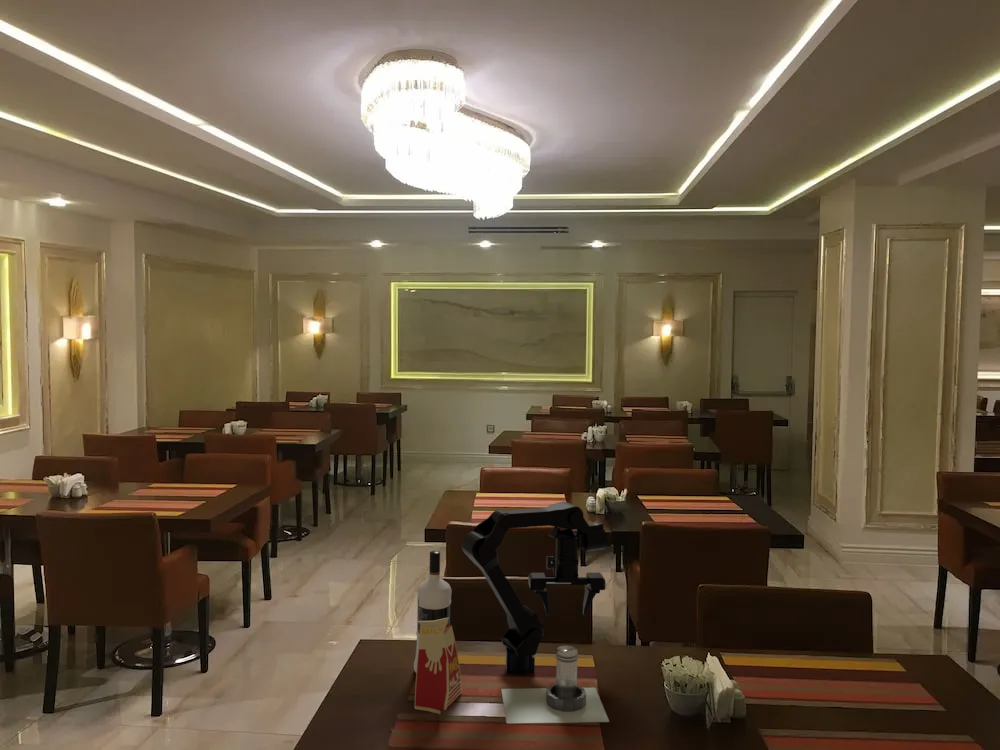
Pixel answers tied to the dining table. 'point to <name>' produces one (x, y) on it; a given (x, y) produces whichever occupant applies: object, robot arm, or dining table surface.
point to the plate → (548, 708)
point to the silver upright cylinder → (566, 672)
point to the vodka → (432, 598)
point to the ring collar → (565, 700)
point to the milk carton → (437, 667)
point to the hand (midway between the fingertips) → (565, 614)
